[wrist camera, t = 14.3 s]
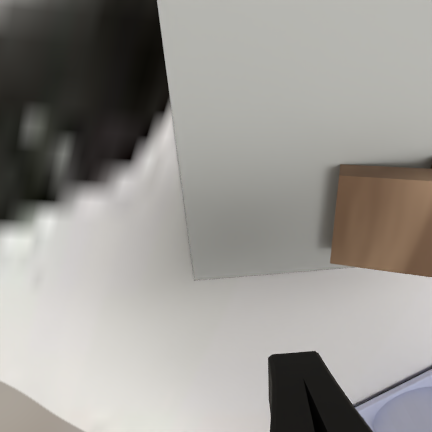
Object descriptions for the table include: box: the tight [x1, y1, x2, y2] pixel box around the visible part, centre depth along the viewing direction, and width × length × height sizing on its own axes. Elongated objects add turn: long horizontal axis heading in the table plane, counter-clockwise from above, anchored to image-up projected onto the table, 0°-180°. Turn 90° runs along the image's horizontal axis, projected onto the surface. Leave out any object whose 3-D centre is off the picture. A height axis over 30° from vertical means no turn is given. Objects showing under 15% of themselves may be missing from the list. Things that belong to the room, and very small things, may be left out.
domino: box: [330, 164, 432, 277], centre depth 17 cm, size 2×5×8 cm
